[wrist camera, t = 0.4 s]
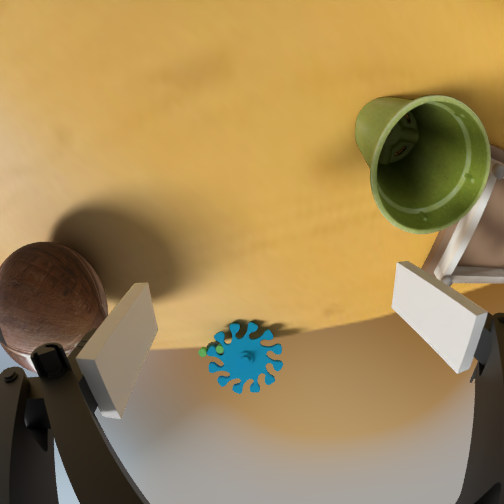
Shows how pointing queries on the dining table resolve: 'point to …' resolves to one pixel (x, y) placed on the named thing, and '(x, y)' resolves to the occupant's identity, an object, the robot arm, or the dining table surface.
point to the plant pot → (424, 160)
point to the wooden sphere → (47, 300)
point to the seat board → (474, 237)
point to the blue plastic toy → (243, 357)
